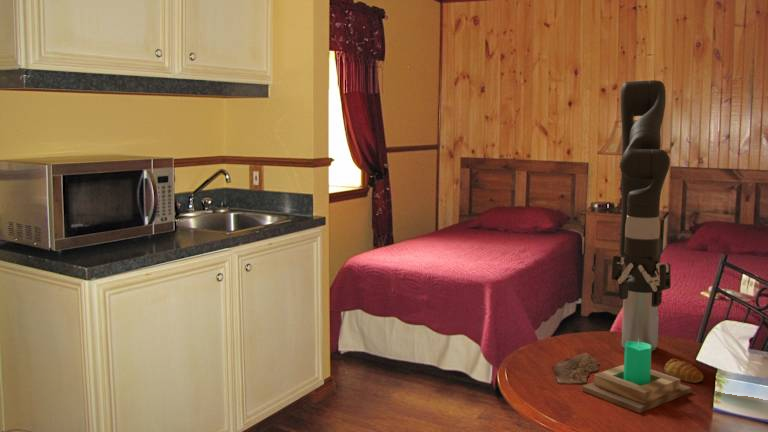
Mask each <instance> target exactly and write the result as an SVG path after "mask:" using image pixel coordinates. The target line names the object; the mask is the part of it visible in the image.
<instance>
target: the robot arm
mask: <svg viewBox="0 0 768 432" xmlns="http://www.w3.org/2000/svg"><path fill="white" fill-rule="evenodd" d="M666 94H667V93H666V87H665V84H664V83H663V81H661V80H655V79H654V80H653V79H652V80H651V79H650V80H633V81H626V82H624V83H622V85H621V89H620V115H621V120H620V121H621V139H622V140H621V141H622V144H621V145H622V148H621V149H622V150H621V159H620V166H619V168H620V174H621V176H620V177H621V180H620V181H621V183H620V184H621V186H620V187H621V220H620V221H621V222H620V223H621V224H620V233H619V235H620V236H619V237H620V238H619V254H617V255H614V256H613V257H612V266H611V267H612V268H611V280H613V281H616V282H617V283H618V296H619V299H620V300H622V301H623V302H622V325H621V347H622V348H623V349H625V343H626V341H632V342H638V339H639V342H644V343H647V344H650V345H651V346H652V349H651V353H652V352H654V351H655V350H656V349H657V347H658V340H659V338H658V337H659V319H660V315H659V314H658V307H659V306H660V305H661V304H662V299H663V295H662V294H663V291H665V290H669V289H671V288H672V287H671V280H672V279H671V278H672V277H671V263H669V262H667V263H661V257H662V247H663V245H662V244H663V243H662V238H661V235H660V230H661V229H660V228H661V227H660V204H661V203H660V202H661V196H662V195H661V194H662V189H663V186H664V184H665V180H666V178H667V175H668V173H669V170H670V165H671V159H670V156H669V154H668V152H667V151H666V150H664V149H661V145H662V144H661V128H662V124H663V120H664V115H665V109H666V101H667V100H666V99H667V95H666ZM634 117H639V118H638V119H637V120H636V121H634ZM624 265H625V267H626V268H625V269H624V268H623V267H624ZM623 269H624V270H623Z"/></svg>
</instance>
